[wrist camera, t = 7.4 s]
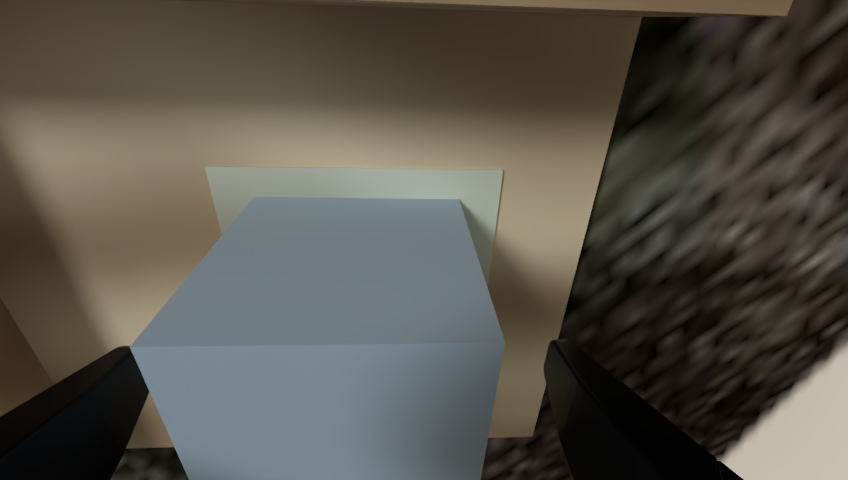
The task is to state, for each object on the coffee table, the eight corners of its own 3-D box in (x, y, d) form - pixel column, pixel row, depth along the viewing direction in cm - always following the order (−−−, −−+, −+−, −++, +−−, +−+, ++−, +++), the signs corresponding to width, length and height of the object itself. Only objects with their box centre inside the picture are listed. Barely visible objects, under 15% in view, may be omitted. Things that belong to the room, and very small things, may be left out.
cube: (458, 199, 10) (505, 343, 5) (446, 347, 12) (471, 528, 8) (254, 197, 10) (129, 346, 5) (282, 349, 12) (215, 538, 8)
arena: (527, 422, 15) (566, 544, 12) (71, 434, 14) (-38, 572, 11) (643, -51, 8) (836, -105, 4) (-271, -93, 7) (-954, -206, 4)
